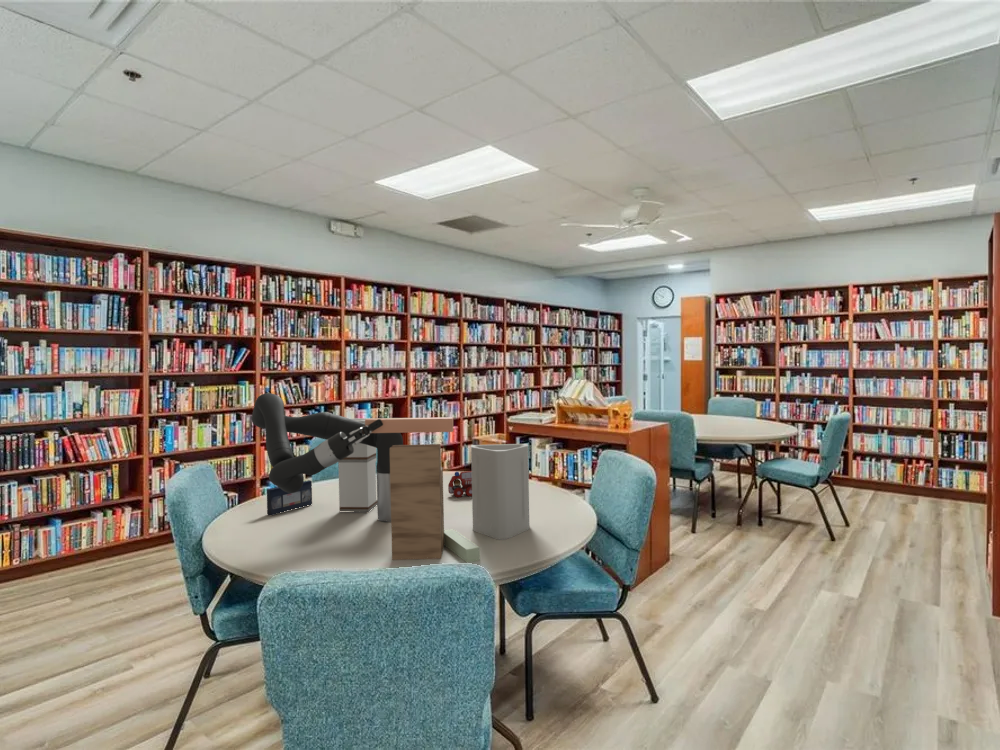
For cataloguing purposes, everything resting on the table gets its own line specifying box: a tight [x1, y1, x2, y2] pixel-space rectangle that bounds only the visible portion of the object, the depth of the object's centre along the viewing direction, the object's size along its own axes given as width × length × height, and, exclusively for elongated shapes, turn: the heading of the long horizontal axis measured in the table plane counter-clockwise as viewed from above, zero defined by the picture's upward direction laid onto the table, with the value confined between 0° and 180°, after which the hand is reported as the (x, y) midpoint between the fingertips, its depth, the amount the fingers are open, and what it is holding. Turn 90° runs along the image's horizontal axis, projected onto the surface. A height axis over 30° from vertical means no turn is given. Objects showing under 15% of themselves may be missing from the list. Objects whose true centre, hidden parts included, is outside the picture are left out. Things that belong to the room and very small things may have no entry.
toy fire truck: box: [447, 470, 472, 498], centre depth 230 cm, size 7×12×10 cm, turn 105°
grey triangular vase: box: [470, 443, 530, 540], centre depth 178 cm, size 19×15×28 cm
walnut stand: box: [390, 443, 445, 561], centre depth 160 cm, size 12×14×32 cm
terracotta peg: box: [365, 416, 454, 434], centre depth 163 cm, size 4×26×4 cm, turn 91°
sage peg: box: [444, 528, 481, 563], centre depth 161 cm, size 20×4×4 cm, turn 27°
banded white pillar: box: [337, 417, 377, 513], centre depth 211 cm, size 11×11×35 cm
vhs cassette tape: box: [266, 480, 313, 516], centre depth 212 cm, size 18×3×10 cm, turn 143°
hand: (382, 420), depth 163 cm, fingers closed on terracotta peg, 4 cm apart
